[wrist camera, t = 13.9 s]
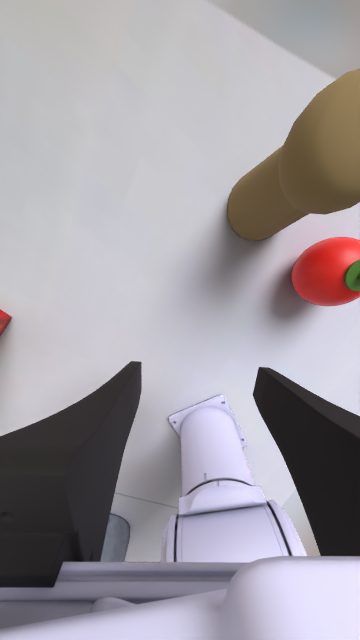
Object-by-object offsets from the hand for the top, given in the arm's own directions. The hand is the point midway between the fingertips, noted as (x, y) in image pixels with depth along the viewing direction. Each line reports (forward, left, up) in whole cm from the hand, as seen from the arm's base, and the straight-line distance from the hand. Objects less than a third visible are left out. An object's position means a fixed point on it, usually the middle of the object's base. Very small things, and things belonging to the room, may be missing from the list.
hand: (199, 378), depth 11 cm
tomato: (0, -14, -10) cm, 17 cm away
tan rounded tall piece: (+8, -11, -11) cm, 17 cm away
